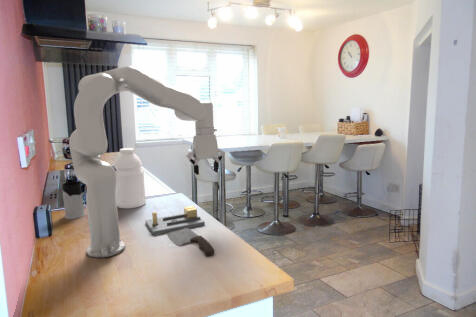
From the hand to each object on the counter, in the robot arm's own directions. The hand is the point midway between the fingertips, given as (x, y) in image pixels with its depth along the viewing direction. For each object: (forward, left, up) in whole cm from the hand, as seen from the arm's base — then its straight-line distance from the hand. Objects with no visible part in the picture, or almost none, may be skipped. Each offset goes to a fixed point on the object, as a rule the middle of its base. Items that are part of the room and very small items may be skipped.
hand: (206, 172), depth 148 cm
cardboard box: (0, +8, -18) cm, 20 cm away
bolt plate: (0, +15, -20) cm, 25 cm away
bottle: (+38, +26, -20) cm, 50 cm away
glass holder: (+35, +49, -20) cm, 64 cm away
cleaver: (-20, +15, -21) cm, 32 cm away
